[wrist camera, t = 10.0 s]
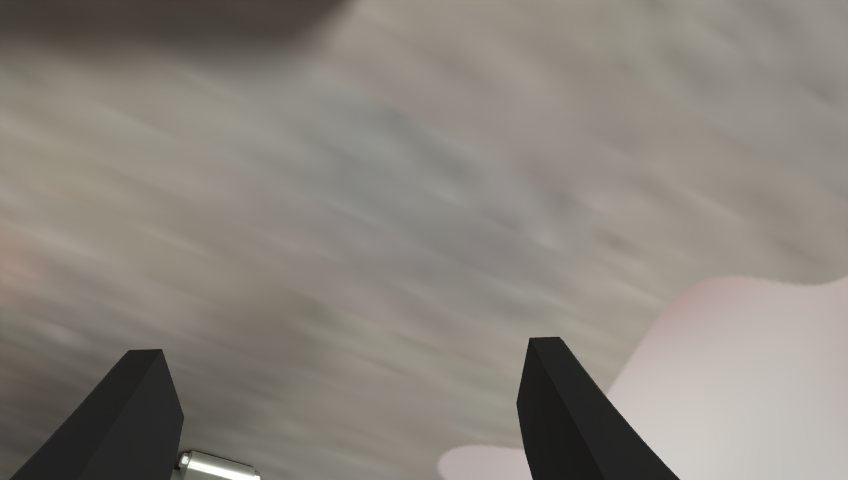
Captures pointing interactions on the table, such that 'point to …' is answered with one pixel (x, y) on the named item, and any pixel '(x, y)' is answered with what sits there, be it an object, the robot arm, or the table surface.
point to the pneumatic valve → (211, 469)
